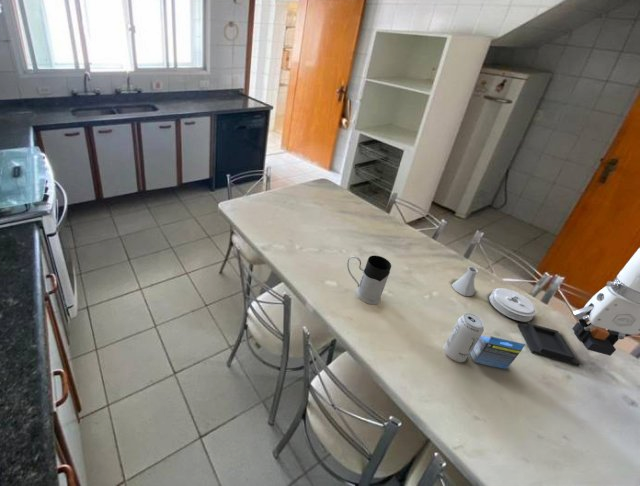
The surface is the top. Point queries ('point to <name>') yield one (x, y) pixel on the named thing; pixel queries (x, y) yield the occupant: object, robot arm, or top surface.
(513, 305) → the lid
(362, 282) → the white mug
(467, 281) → the flask
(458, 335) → the energy drink can
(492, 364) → the label tape box
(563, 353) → the black shallow tray
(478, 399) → the top surface
